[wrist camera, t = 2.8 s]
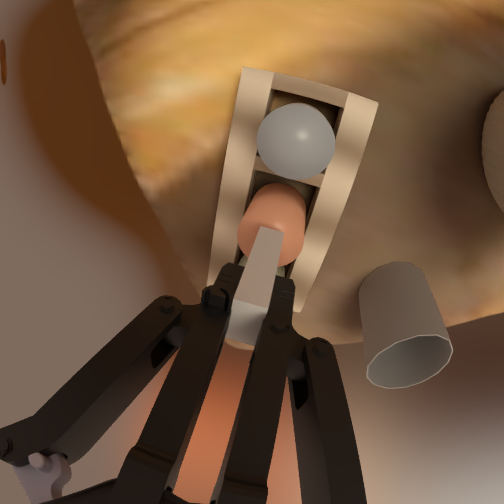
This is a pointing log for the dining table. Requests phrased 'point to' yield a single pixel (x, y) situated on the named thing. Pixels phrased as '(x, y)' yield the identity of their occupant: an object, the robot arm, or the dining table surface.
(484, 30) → the dining table surface
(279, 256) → the robot arm
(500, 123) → the canister
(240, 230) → the brown egg
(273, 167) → the grey egg
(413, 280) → the cup
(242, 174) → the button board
